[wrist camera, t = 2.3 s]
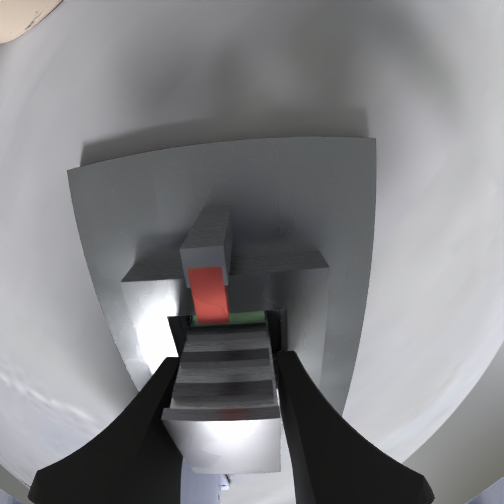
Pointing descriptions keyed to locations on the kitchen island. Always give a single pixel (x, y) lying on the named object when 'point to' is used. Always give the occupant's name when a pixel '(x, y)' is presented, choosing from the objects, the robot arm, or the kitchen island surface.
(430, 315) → the kitchen island surface
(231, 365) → the grey ribbed block
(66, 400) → the kitchen island surface
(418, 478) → the robot arm
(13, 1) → the teacup with lid
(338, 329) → the stand base
